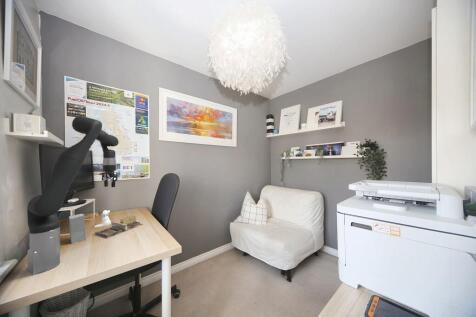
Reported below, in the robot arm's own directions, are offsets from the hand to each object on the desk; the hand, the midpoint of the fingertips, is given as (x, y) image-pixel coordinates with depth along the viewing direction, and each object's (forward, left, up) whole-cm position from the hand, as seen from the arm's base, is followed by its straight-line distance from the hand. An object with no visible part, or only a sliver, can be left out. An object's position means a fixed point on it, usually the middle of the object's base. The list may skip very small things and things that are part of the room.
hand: (109, 186), depth 120 cm
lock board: (+1, -9, -30) cm, 31 cm away
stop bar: (+7, -9, -29) cm, 31 cm away
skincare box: (-19, -2, -30) cm, 36 cm away
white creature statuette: (+2, +10, -30) cm, 32 cm away
